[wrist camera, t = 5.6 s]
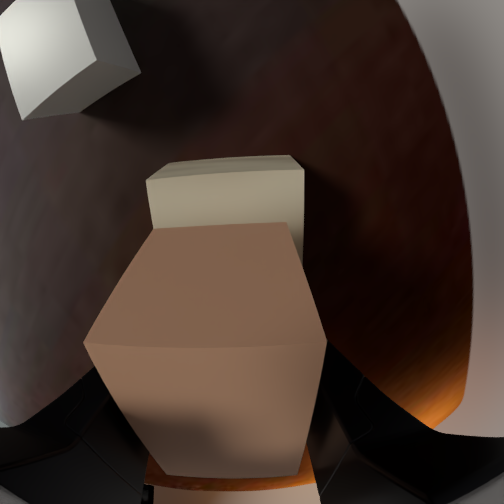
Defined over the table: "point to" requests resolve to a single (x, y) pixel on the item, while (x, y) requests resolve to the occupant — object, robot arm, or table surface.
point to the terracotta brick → (214, 350)
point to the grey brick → (63, 54)
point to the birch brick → (229, 193)
